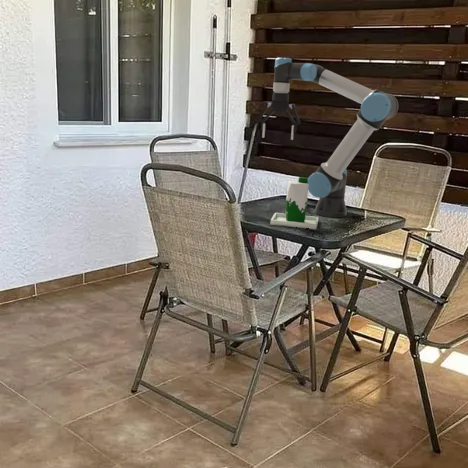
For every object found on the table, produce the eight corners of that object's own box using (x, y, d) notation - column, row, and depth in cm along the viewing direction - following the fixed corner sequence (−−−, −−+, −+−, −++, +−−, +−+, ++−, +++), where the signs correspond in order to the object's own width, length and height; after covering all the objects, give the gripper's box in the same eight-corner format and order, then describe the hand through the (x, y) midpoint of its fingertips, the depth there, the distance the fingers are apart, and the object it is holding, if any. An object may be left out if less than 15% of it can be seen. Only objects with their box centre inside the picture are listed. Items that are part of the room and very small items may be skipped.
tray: (318, 221, 279) (318, 216, 278) (316, 229, 263) (316, 224, 263) (274, 217, 282) (275, 212, 281) (270, 224, 266) (270, 220, 266)
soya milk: (306, 224, 269) (310, 179, 264) (286, 223, 268) (289, 178, 263) (303, 220, 277) (306, 176, 272) (283, 219, 276) (286, 175, 271)
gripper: (308, 93, 284) (304, 139, 290) (255, 90, 288) (252, 135, 294) (307, 94, 277) (303, 141, 282) (253, 90, 281) (250, 137, 286)
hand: (277, 138), depth 288 cm, fingers open, 13 cm apart
